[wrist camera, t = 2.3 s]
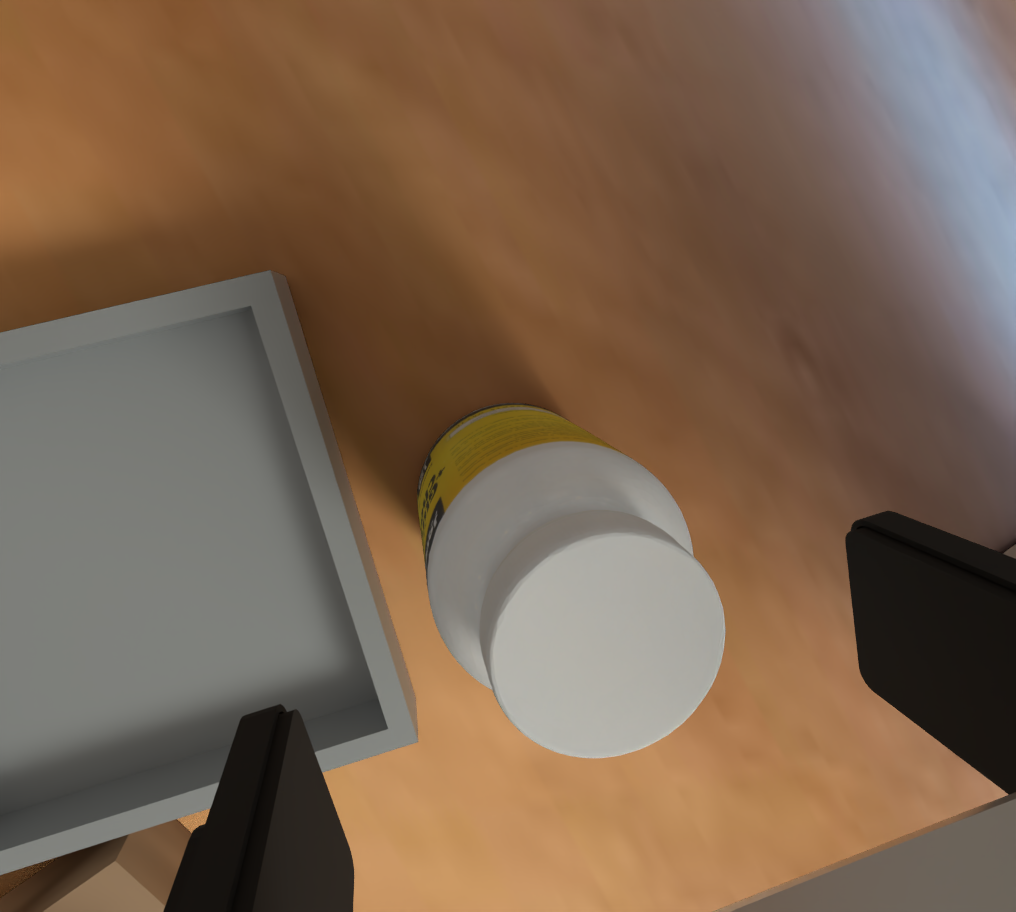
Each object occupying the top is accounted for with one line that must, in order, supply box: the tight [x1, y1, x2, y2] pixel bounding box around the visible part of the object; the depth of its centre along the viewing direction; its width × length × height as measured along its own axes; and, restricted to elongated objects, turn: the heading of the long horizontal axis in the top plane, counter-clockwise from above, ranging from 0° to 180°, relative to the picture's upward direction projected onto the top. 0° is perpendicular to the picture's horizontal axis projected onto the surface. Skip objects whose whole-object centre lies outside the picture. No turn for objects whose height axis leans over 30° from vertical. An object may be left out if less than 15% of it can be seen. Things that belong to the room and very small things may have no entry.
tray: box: [0, 270, 418, 875], centre depth 20 cm, size 16×16×3 cm
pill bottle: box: [417, 403, 725, 758], centre depth 18 cm, size 6×6×12 cm
